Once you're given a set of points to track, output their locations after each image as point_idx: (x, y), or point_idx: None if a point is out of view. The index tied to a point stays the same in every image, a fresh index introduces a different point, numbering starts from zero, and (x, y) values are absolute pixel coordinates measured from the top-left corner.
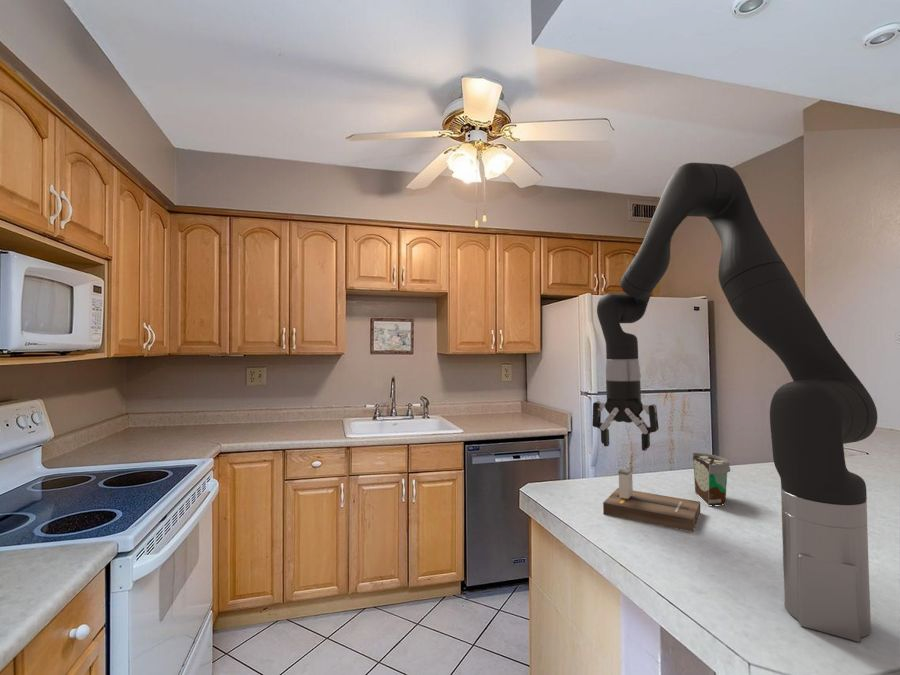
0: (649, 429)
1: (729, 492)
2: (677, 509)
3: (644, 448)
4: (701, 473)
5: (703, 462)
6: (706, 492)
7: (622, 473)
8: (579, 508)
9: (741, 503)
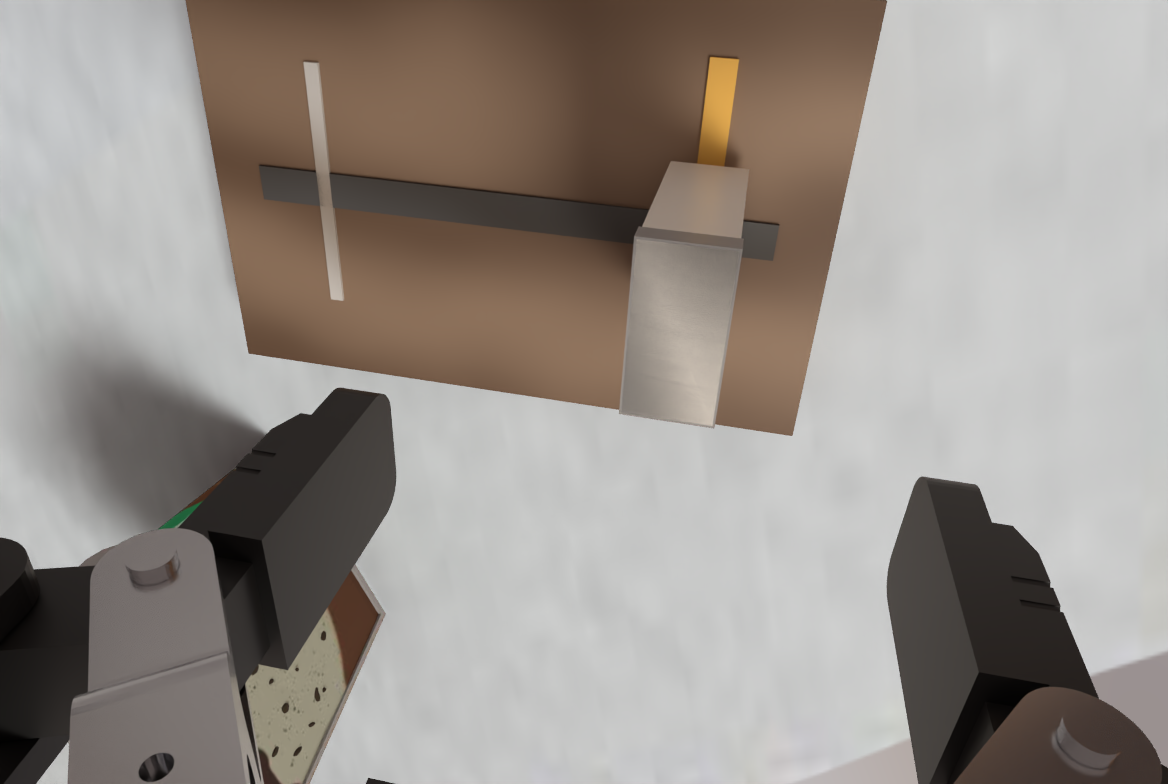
0: (63, 612)
1: None
2: (313, 119)
3: (338, 398)
4: None
5: None
6: None
7: (697, 237)
8: (1108, 23)
9: None
